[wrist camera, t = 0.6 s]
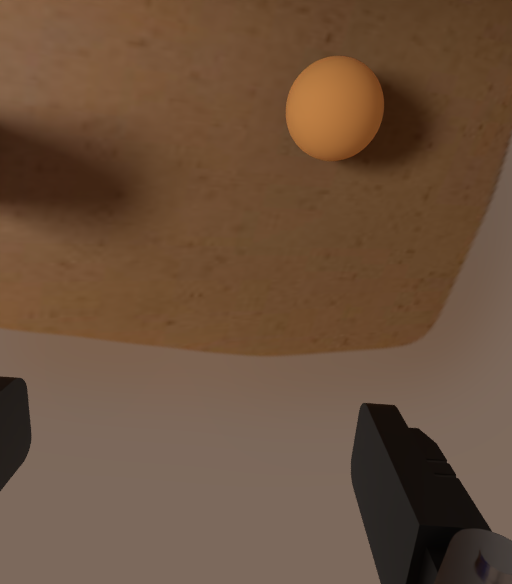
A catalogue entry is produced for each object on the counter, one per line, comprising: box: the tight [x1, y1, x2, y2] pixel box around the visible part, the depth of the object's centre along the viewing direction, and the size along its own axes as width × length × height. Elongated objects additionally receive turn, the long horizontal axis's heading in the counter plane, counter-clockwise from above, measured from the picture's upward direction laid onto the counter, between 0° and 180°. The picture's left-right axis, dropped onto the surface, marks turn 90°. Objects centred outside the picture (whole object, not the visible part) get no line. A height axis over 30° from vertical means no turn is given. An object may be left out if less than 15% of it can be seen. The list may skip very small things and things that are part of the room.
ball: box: [286, 56, 384, 161], centre depth 26 cm, size 6×6×6 cm
